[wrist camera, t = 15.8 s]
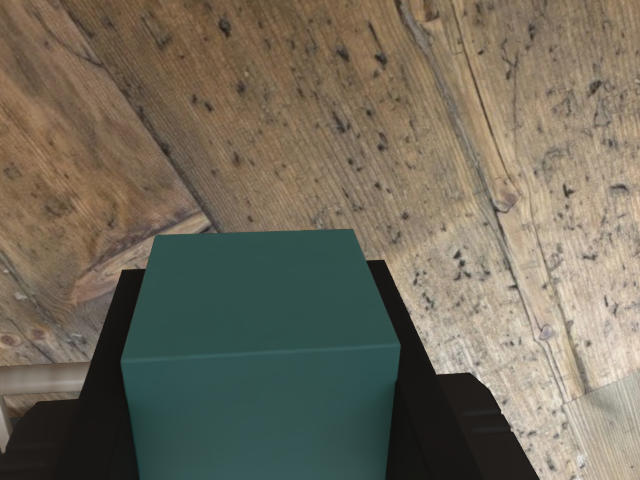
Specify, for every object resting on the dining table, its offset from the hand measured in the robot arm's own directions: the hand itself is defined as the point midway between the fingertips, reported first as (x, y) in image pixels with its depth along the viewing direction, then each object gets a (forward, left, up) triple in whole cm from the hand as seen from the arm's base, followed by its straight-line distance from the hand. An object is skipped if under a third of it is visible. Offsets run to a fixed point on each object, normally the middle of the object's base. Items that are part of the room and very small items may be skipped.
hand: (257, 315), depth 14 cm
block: (0, 0, 0) cm, 0 cm away
